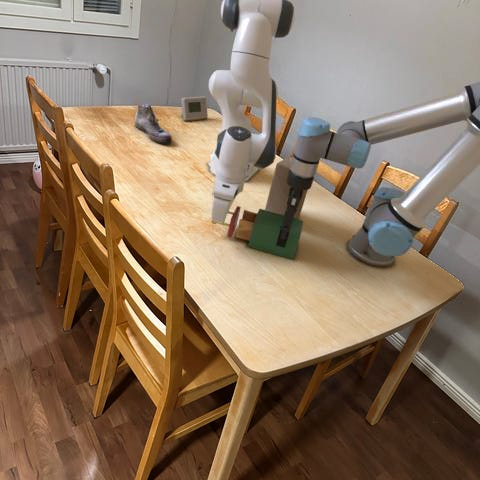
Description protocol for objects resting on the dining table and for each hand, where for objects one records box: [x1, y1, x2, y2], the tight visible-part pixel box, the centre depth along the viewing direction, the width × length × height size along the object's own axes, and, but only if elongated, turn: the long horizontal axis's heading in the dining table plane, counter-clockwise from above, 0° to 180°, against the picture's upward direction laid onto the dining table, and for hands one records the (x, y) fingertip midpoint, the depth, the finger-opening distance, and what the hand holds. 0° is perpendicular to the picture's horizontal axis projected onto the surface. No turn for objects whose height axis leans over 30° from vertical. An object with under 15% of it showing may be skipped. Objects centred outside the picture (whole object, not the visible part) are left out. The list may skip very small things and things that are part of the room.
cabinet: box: [247, 208, 304, 260], centre depth 137 cm, size 14×10×9 cm
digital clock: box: [180, 95, 209, 122], centre depth 224 cm, size 16×9×11 cm, turn 123°
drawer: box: [211, 205, 258, 242], centre depth 138 cm, size 19×9×7 cm, turn 78°
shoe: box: [134, 102, 172, 145], centre depth 194 cm, size 25×11×12 cm, turn 30°
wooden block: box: [264, 156, 308, 219], centre depth 151 cm, size 10×10×20 cm
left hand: (221, 221), depth 139 cm, fingers closed, pressing on drawer
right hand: (282, 237), depth 138 cm, fingers closed on cabinet, 10 cm apart
